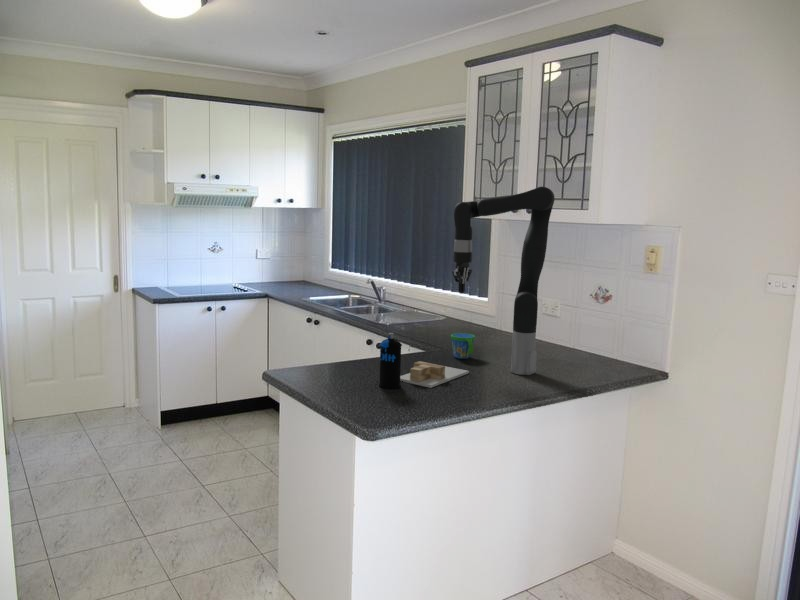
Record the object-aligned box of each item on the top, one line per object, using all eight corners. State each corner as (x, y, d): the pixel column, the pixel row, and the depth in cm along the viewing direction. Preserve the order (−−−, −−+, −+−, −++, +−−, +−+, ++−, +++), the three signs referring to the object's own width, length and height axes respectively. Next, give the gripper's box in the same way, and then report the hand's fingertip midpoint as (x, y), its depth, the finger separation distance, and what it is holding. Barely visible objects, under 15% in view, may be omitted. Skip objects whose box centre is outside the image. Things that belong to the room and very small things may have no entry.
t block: (419, 372, 263) (419, 361, 262) (444, 377, 256) (445, 366, 255) (401, 378, 253) (401, 366, 253) (427, 383, 246) (428, 372, 246)
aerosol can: (388, 381, 252) (389, 330, 249) (405, 385, 246) (406, 333, 244) (374, 385, 245) (375, 333, 242) (391, 390, 240) (392, 336, 237)
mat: (468, 373, 267) (468, 370, 267) (430, 387, 245) (430, 385, 245) (435, 366, 277) (435, 364, 276) (395, 380, 254) (395, 377, 254)
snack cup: (480, 361, 289) (481, 338, 287) (457, 362, 285) (458, 339, 284) (466, 353, 303) (467, 331, 302) (444, 354, 300) (445, 332, 299)
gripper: (463, 252, 266) (461, 294, 268) (478, 250, 276) (477, 291, 279) (446, 251, 270) (445, 293, 272) (462, 249, 280) (461, 290, 283)
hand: (461, 292), depth 276 cm, fingers closed
